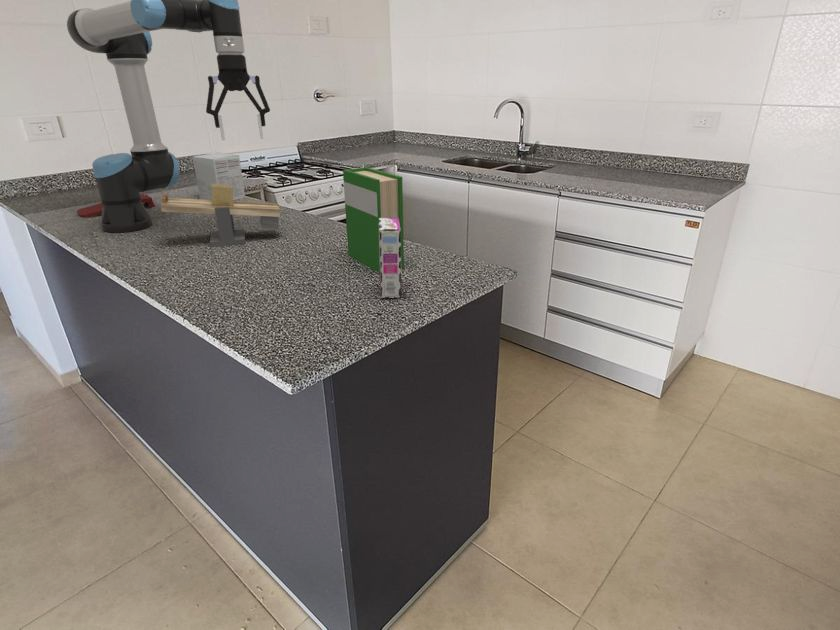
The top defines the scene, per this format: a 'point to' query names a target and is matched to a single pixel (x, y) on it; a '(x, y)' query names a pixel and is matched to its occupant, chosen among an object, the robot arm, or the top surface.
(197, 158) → the supplement box
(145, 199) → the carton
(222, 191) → the rider
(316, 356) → the top surface
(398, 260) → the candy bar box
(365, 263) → the hardback book
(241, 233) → the pivot stand
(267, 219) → the beam
